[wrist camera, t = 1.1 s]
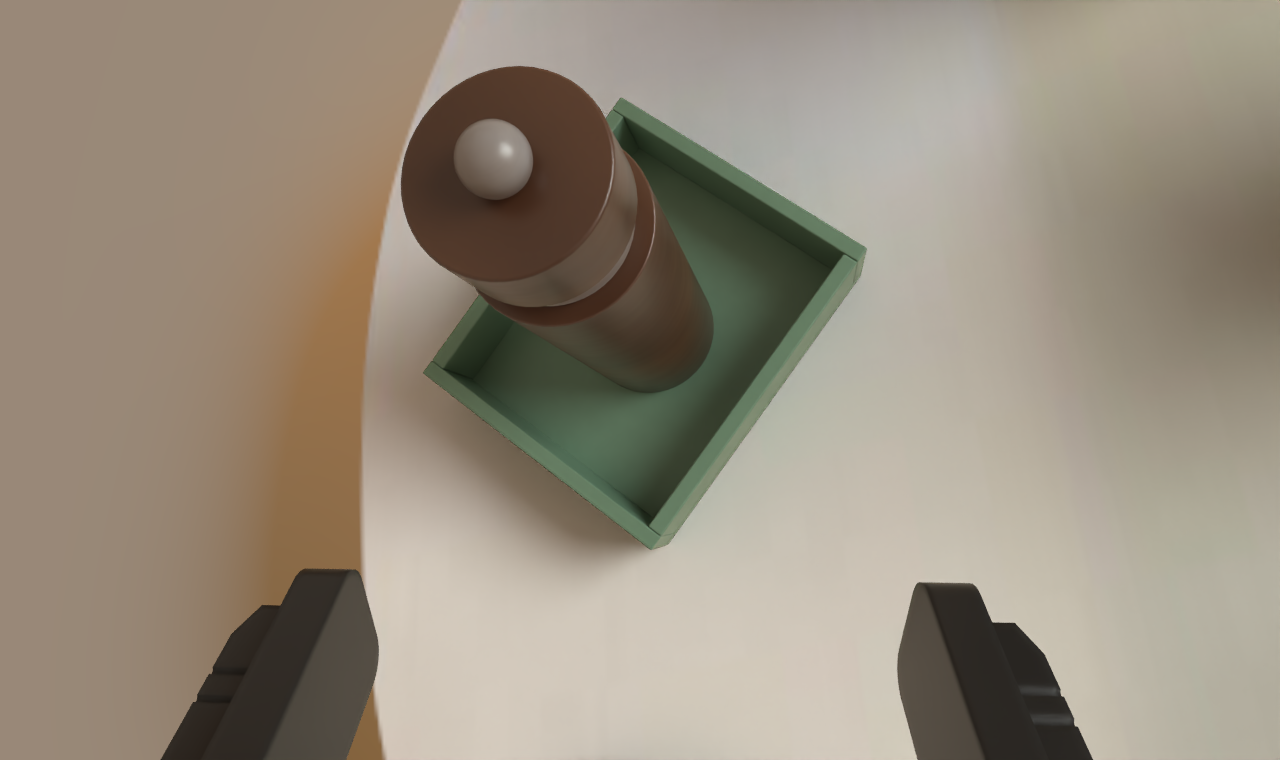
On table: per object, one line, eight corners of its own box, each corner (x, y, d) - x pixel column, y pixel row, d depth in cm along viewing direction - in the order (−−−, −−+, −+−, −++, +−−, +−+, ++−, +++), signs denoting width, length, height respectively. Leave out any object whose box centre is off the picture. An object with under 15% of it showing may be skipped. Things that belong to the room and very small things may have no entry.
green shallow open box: (639, 136, 35) (620, 96, 32) (861, 275, 33) (867, 248, 29) (460, 385, 35) (422, 373, 32) (667, 545, 33) (650, 550, 29)
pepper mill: (637, 243, 34) (458, -25, 17) (739, 312, 33) (662, 98, 15) (563, 345, 34) (308, 184, 17) (663, 418, 33) (500, 325, 15)
